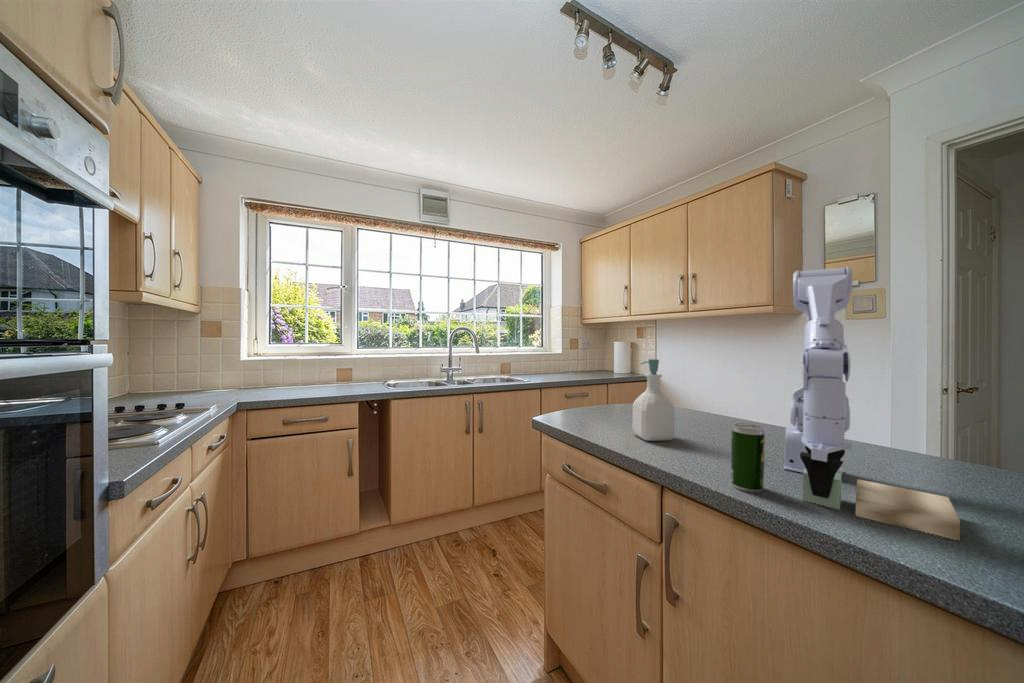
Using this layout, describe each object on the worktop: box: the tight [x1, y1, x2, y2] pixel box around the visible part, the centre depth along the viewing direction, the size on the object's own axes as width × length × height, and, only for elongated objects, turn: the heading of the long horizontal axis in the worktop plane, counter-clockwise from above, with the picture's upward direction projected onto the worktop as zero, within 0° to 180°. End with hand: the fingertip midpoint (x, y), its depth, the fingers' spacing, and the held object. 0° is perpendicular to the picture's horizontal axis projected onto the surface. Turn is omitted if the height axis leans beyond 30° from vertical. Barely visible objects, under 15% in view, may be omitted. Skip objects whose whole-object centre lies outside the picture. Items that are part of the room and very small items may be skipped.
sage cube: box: [802, 468, 843, 510], centre depth 67 cm, size 5×5×5 cm
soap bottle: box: [632, 358, 676, 442], centre depth 107 cm, size 10×10×23 cm
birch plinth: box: [855, 478, 961, 542], centre depth 61 cm, size 11×11×3 cm
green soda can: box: [730, 422, 766, 494], centre depth 72 cm, size 5×5×12 cm
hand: (822, 491), depth 67 cm, fingers closed on sage cube, 5 cm apart
